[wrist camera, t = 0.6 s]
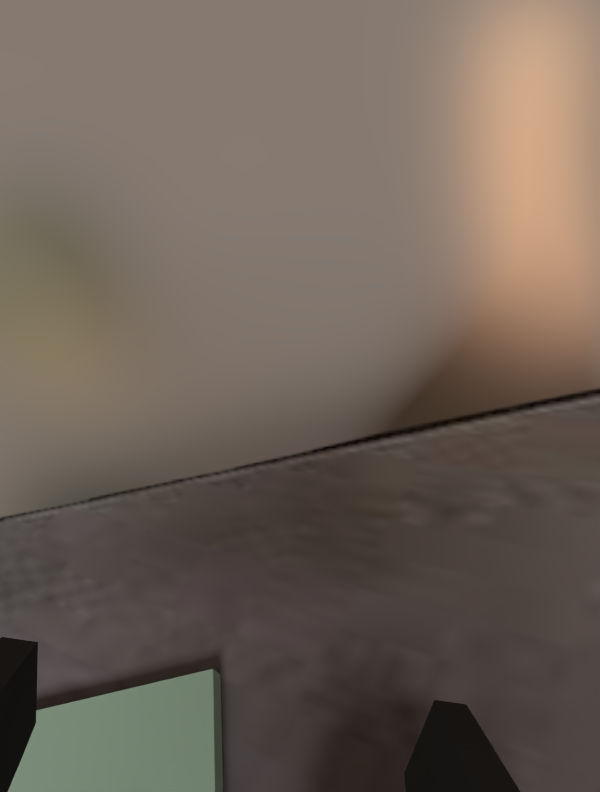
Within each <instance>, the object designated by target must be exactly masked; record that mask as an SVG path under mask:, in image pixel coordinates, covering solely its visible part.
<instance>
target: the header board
mask: <svg viewBox="0 0 600 792" xmlns="http://www.w3.org/2000/svg"><path fill="white" fill-rule="evenodd" d="M8 792H223V760H222V719H221V678H220V674H219V673H218V672H216V671H215V670H214V669H210V670H206V671H201V672H197V673H193V674H189V675H184V676H180V677H176V678H172V679H167V680H163V681H159V682H155V683H151V684H146V685H142V686H138V687H134V688H129V689H125V690H121V691H117V692H112V693H108V694H104V695H100V696H96V697H91V698H87V699H83V700H79V701H74V702H70V703H66V704H62V705H57V706H53V707H49V708H45V709H41V710H36V724H35V727H34V729H33V732H32V734H31V737H30V739H29V742H28V744H27V747H26V749H25V751H24V754H23V756H22V759H21V761H20V764H19V766H18V768H17V771H16V773H15V776H14V778H13V780H12V783H11V785H10V787H9V790H8Z"/></svg>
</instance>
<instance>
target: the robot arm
mask: <svg viewBox="0 0 600 792" xmlns="http://www.w3.org/2000/svg"><path fill="white" fill-rule="evenodd" d="M37 650H38V642H32V641H25V640H18V639H12V638H5V637H2V638H0V792H8V790H9V787H10V785H11V783H12V780H13V778H14V776H15V773H16V771H17V768H18V766H19V764H20V761H21V759H22V756H23V754H24V751H25V749H26V747H27V744H28V742H29V739H30V737H31V734H32V732H33V729H34V727H35V724H36V698H37ZM405 783H406V792H520V791H519V789H518V787H517V786H516V784H515V783H514V781H513V779H512V778H511V776H510V774H509V773H508V771H507V770H506V768H505V766H504V765H503V763H502V762H501V760H500V758H499V757H498V755H497V753H496V752H495V750H494V749H493V747H492V745H491V744H490V742H489V740H488V739H487V737H486V736H485V734H484V732H483V731H482V729H481V727H480V726H479V724H478V723H477V721H476V719H475V718H474V716H473V714H472V713H471V711H470V710H469V708H468V707H467V705H465V704H458V703H451V702H444V701H437V700H434V702H433V705H432V707H431V710H430V712H429V715H428V717H427V719H426V722H425V724H424V727H423V729H422V732H421V734H420V737H419V739H418V741H417V744H416V746H415V749H414V751H413V754H412V756H411V758H410V761H409V763H408V766H407V768H406V771H405Z"/></svg>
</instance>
